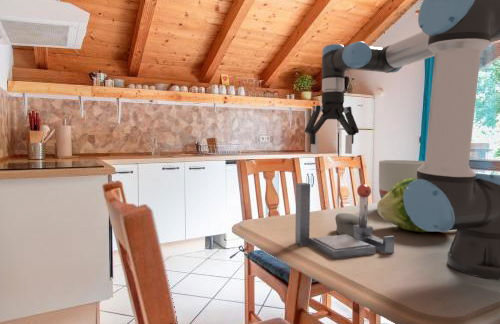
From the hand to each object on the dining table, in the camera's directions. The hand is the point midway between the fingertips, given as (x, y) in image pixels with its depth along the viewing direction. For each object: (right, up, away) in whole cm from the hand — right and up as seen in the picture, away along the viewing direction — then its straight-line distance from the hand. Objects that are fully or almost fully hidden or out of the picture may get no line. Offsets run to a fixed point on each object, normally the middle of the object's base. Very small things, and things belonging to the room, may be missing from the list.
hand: (331, 153), depth 124 cm
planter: (+38, -24, +32) cm, 55 cm away
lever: (+6, -24, -16) cm, 29 cm away
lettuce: (+27, -26, -2) cm, 38 cm away
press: (-2, -27, -21) cm, 35 cm away
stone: (+4, -27, -6) cm, 28 cm away
